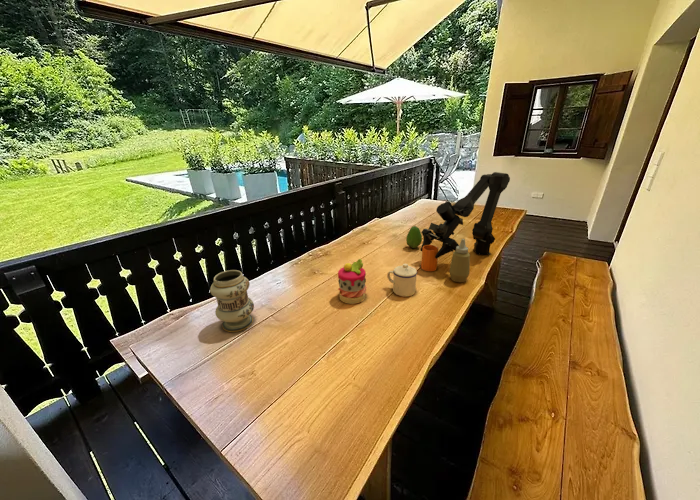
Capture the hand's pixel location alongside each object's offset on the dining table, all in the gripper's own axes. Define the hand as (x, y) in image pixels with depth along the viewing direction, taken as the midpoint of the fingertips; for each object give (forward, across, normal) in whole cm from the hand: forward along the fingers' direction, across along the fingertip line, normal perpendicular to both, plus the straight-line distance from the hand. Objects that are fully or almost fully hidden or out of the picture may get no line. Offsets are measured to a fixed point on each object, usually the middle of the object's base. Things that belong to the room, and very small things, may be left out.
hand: (428, 254), depth 133 cm
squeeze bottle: (+2, +15, +8) cm, 17 cm away
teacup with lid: (+21, +9, -10) cm, 25 cm away
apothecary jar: (+64, -1, -53) cm, 83 cm away
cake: (+34, +4, -24) cm, 42 cm away
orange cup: (+4, 0, +6) cm, 7 cm away
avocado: (-3, -23, +13) cm, 27 cm away
